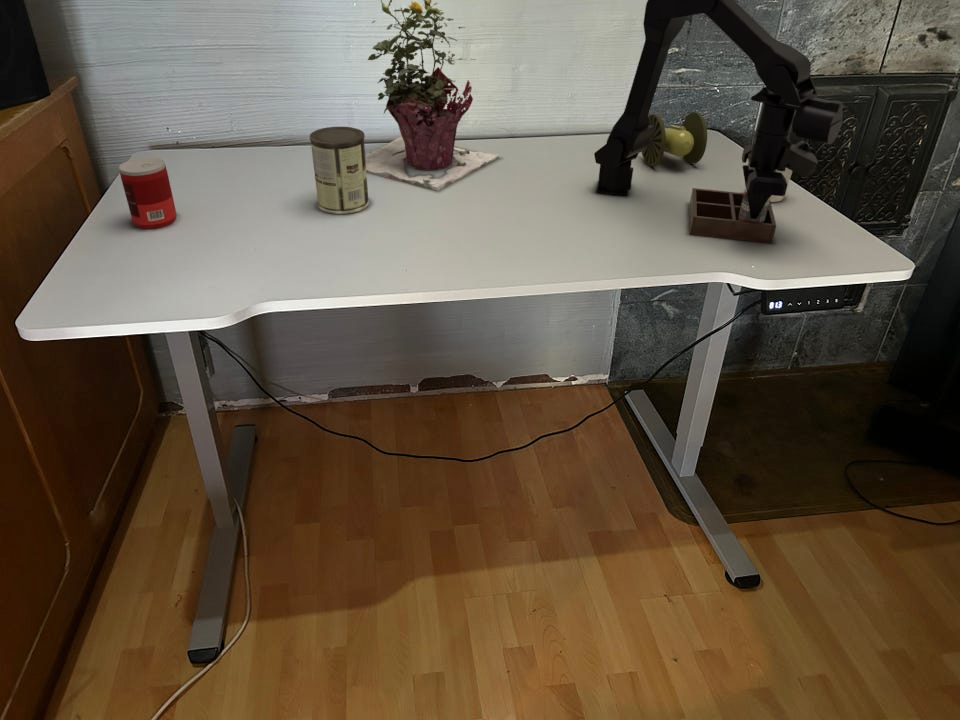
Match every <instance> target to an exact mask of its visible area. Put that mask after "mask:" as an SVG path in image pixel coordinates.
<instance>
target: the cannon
mask: <svg viewBox="0 0 960 720" xmlns="http://www.w3.org/2000/svg"><path fill="white" fill-rule="evenodd" d="M648 122H649V125H651V126H654V127H655V128H654V131H653V133H652V135H651V139H650V145H648V146H646V148H645V149H644V150H643V151H642V152H641V155H642V158H643V161H644V162H645V164H646V165H647V166H649V167H656V166H658V165H659V164H660V163H661V161H662V159H663V157H664V154H665V153H668V154H670V155H673V156H675V157H683V160H684V161H685V162H686V163H688V164H689V165H691V164H697V163H699V162H700V161H701V160H702V159H703V157H704V155H705V152H706V149H707V143H708V128H707V127H708V126H707V122H706V119H705V117H704V116H703V115H702V113H701V112H699V111H691V112H690V113H688V114H687V115H686V117H685V118H684V120H683V123H682V125H681V126H680V125H679V126H678V125H676V124H675V125H674V124H670V125H669V127H665V123H664V121H663V118H662V117H661V116H660V115H659V114H657V113H651V114H648Z"/></svg>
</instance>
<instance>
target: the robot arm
mask: <svg viewBox="0 0 960 720" xmlns="http://www.w3.org/2000/svg"><path fill="white" fill-rule="evenodd" d="M701 14H704V15H706V17H708V18H709V19H710V20H711V21H712V23H714V24H715V25H716V26H717V27H718V28H719V29H720V30H721V31H722V32H723V33H724V34H725V35H726V36H727V37H728V38H729V39H730V40H731V41H732V42H733V43H734V44H735V45H736V46H737V47H738V48H739V49H740V50H741V51H742V52H743V53H744V54H745V55H746V56H747V57H749V59H750V60H751V62H752V64H753V66H754V68H755V71H756V74H757V76H758V77H759V79H760V81H761V82H762V83H763V85H764V86H763V87H762V88H761V89H760V91H758V92H757V93H755V94H754V95H752V96H751V97H750V100H751V101H753V102H757V103H762V104H761V107H760V111H759V117H758V120H757V124H756V129H755V130H754V131H753V133H752V138H753V141H752V144H748V145H746V146H745V147H744V148H743V150H742V155H741V161H742V163H747V164H744V165H742V172H743V179H744V185H745V189H746V190H747V196H748V203H749V210H750V217H751V219H757V218H758V216H759V214H760V212H761V211H762V209H763V207H764V205H765V204H766V202H767V200H768V199H769V197H770V196H771V195H775V196H784V197H785V196H786V193H787V189H788V186H789V184H788V185H787V182H786V178H785V177H784V176H783V174H782V173H778V172H776V170H778V171H785V169H786V168H788V169H790V170H792V171H793V172H794V173H796V174H798V175H800V177H801V178H804V179H808V178H809V177H810V176H811V174H812V173H813V171H814V170H815V169H816V167H817V165H818V164H819V161H818V159H817V157H816V156H815V155H814V153H813V152H810V150H811V145H810V143H808V142H806V141H804V140H800V141H799V142H797V143H796V144H794V143H792V141H791V140H790V135H791V132H792V133H793V134H795V136H796V138H800V139H805V140H809V141H813V142H817V143H822V144H826V145H832V144H833V143H834V141H835V140H836V139H837V137H838V135H839V133H840V131H841V128H842V125H843V122H844V121H843V120H844V119H843V117H844V116H843V115H844V112H843V106H844V102H843V101H840V100H829V99H824V98H819V97H818V96H819V93H818V90H817V88H816V86H815V84H814V83H815V82H814V81H813V78H812V75H811V70H812V69H811V68H812V67H811V66H812V64H811V61H810V59H809V58H808V56H806V55H805V54H804V53H802V52H801V51H799V50H797V49H796V48H794V47H793V46H791V45H789V44H786V43H784V42H782V41H779V40H777V39H776V38H774V37H772V35H771V34H770V33H768V31H767V30H766V29H765V28H764V27H763V26H762V25H761V24H760V23H758V22H757V21H756V20H755V19H754V18H753V17H752V16H751V15H750V14H749V13H748V11H746V10H745V9H744V8H743V7H742V6H741V5H740V4H738V2H737V1H736V0H647V1H646V4H645V8H644V17H643V31H644V38H645V39H644V43H643V46H642V50H641V53H640V57H639V60H638V63H637V66H636V70H635V73H634V77H633V81H632V84H631V86H630V91H629V94H628V97H627V100H626V103H625V107H624V110H623V112H622V114H621V116H620V117H619V118H618V120H617V121H616V123H615V124H614V125H613V126H612V128H611V130H610V133H609V135H608V137H607V140H606V143H605V144H604V145H603V146H601V147H600V148H599V149H597V150H596V151H594V153H593V155H594V161H595V163H596V164H597V165H599V171H598V179H597V180H598V182H597V185H596V189H595V192H596V193H599V194H606V195H614V196H615V195H616V196H628V193H629V191H631V187H632V181H633V173H634V167H633V166H632V161H633V160H636V159H638V157H639V154H640V153H642V151H643V150H644V149H645V148H646V146H648V145H650V139H651V135H652V133H653V131H654V128H655V127H654V126H651V125H649V122H648V116H649V114H650V110H651V106H652V103H653V100H654V98H655V95H656V91H657V89H658V84H659V82H660V78H661V76H662V73H663V70H664V66H665V63H666V60H667V57H668V53H669V50H670V48H671V46H672V45H671V44H672V43H673V41H674V40H675V39H676V37H677V36H678V34H679V33H680V32H681V31H682V29H683V27H684V26H685V24H686V21H687V19H688V18H689V16H694V15H701ZM747 161H748V162H747Z"/></svg>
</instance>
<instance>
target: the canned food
mask: <svg viewBox="0 0 960 720" xmlns="http://www.w3.org/2000/svg"><path fill="white" fill-rule="evenodd" d="M118 171H119V175H120V180H121V183H122V188H123V191H124V194H125V198H126V202H127V205H128V209H129V213H130V217H131V221H132V223H133V224H134V225H135V226H136V227H137V228H140V229H144V230H145V229H146V230H150V229H151V230H153V229H160V228H164V227H167V226H169V225H171V224H172V223H175V221H176V219H177V209H176V206H175V201H174V195H173V191H172V187H171V181H170V177H169V174H168V169H167V165H166V163H165V160H164V159H161V158H159V157H150V156H149V157H138V158H133V159H130V160H125V161H124V162H122V163H121V164H119V166H118Z"/></svg>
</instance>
